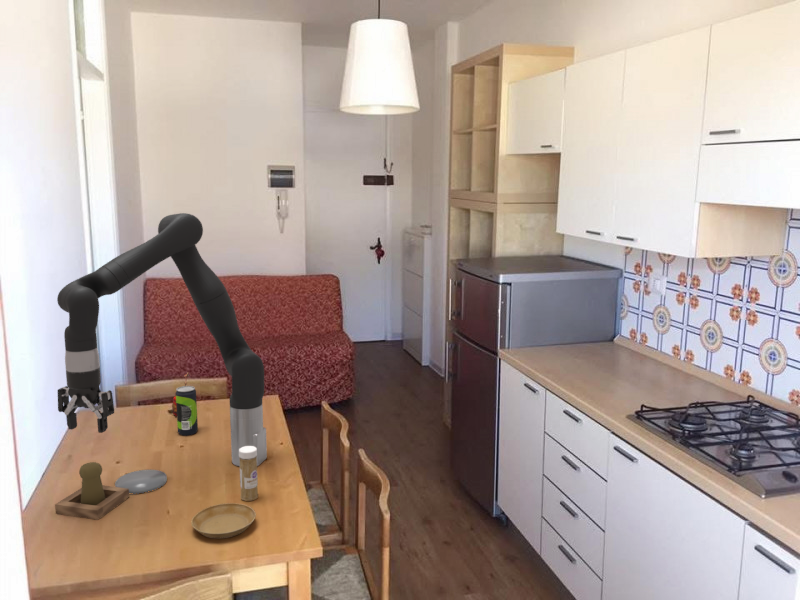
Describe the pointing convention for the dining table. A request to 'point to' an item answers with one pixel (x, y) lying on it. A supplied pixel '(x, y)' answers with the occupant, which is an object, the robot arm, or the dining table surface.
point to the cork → (91, 484)
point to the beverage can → (186, 410)
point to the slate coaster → (142, 481)
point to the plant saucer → (223, 520)
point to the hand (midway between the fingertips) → (87, 430)
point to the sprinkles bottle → (248, 473)
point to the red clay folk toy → (175, 400)
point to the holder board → (75, 508)
